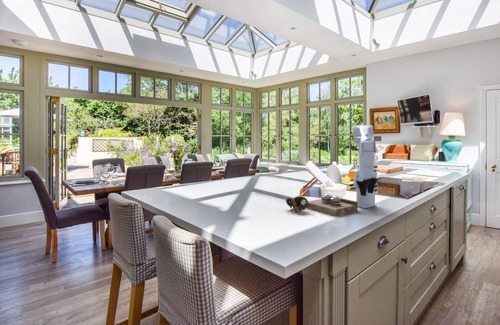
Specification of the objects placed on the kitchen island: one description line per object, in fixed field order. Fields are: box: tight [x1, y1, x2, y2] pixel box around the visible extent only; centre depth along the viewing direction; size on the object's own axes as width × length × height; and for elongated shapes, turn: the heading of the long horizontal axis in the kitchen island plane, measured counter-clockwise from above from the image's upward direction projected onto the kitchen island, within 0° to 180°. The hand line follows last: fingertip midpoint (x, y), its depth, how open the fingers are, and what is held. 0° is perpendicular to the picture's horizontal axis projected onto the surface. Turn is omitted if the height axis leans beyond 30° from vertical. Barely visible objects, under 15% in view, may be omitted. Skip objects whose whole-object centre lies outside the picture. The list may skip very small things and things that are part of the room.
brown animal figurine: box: [285, 195, 309, 213], centre depth 149 cm, size 12×10×8 cm
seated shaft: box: [320, 193, 332, 203], centre depth 152 cm, size 5×5×7 cm
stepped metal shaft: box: [330, 195, 342, 206], centre depth 147 cm, size 5×5×7 cm
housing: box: [306, 197, 359, 217], centre depth 150 cm, size 16×20×4 cm
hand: (366, 194), depth 139 cm, fingers open, 7 cm apart
